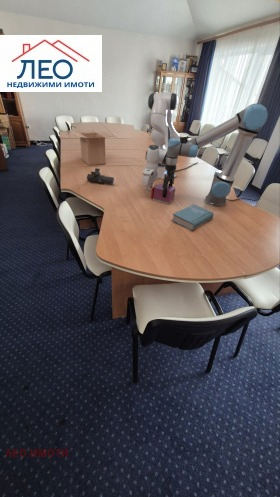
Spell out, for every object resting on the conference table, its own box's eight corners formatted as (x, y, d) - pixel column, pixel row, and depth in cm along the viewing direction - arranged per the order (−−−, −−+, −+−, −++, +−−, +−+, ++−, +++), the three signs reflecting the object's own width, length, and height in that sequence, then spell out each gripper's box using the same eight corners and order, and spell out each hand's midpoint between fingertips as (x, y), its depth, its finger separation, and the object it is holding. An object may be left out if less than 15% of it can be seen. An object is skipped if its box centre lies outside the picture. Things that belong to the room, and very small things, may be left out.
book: (192, 210, 154) (193, 204, 151) (212, 219, 146) (214, 212, 143) (171, 220, 141) (173, 213, 138) (192, 231, 132) (194, 224, 129)
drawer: (143, 196, 168) (144, 186, 163) (148, 192, 174) (149, 182, 170) (164, 201, 162) (166, 191, 157) (169, 197, 169) (170, 187, 164)
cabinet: (153, 200, 165) (154, 187, 159) (158, 195, 173) (159, 183, 167) (168, 204, 161) (170, 191, 155) (173, 199, 168) (175, 187, 163)
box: (116, 165, 229) (116, 136, 213) (83, 168, 214) (80, 137, 198) (102, 154, 259) (101, 128, 243) (71, 156, 244) (68, 129, 228)
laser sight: (111, 186, 182) (110, 174, 176) (85, 182, 185) (84, 170, 179) (114, 182, 190) (114, 170, 184) (89, 179, 192) (88, 167, 186)
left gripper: (153, 166, 167) (151, 184, 176) (141, 172, 152) (140, 191, 160) (161, 167, 165) (159, 185, 173) (149, 174, 150) (147, 193, 158)
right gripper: (171, 159, 160) (167, 188, 173) (159, 166, 143) (156, 198, 156) (181, 161, 157) (176, 191, 170) (170, 169, 141) (165, 201, 154)
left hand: (149, 188), depth 167 cm, fingers closed
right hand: (166, 194), depth 163 cm, fingers closed on cabinet, 10 cm apart
